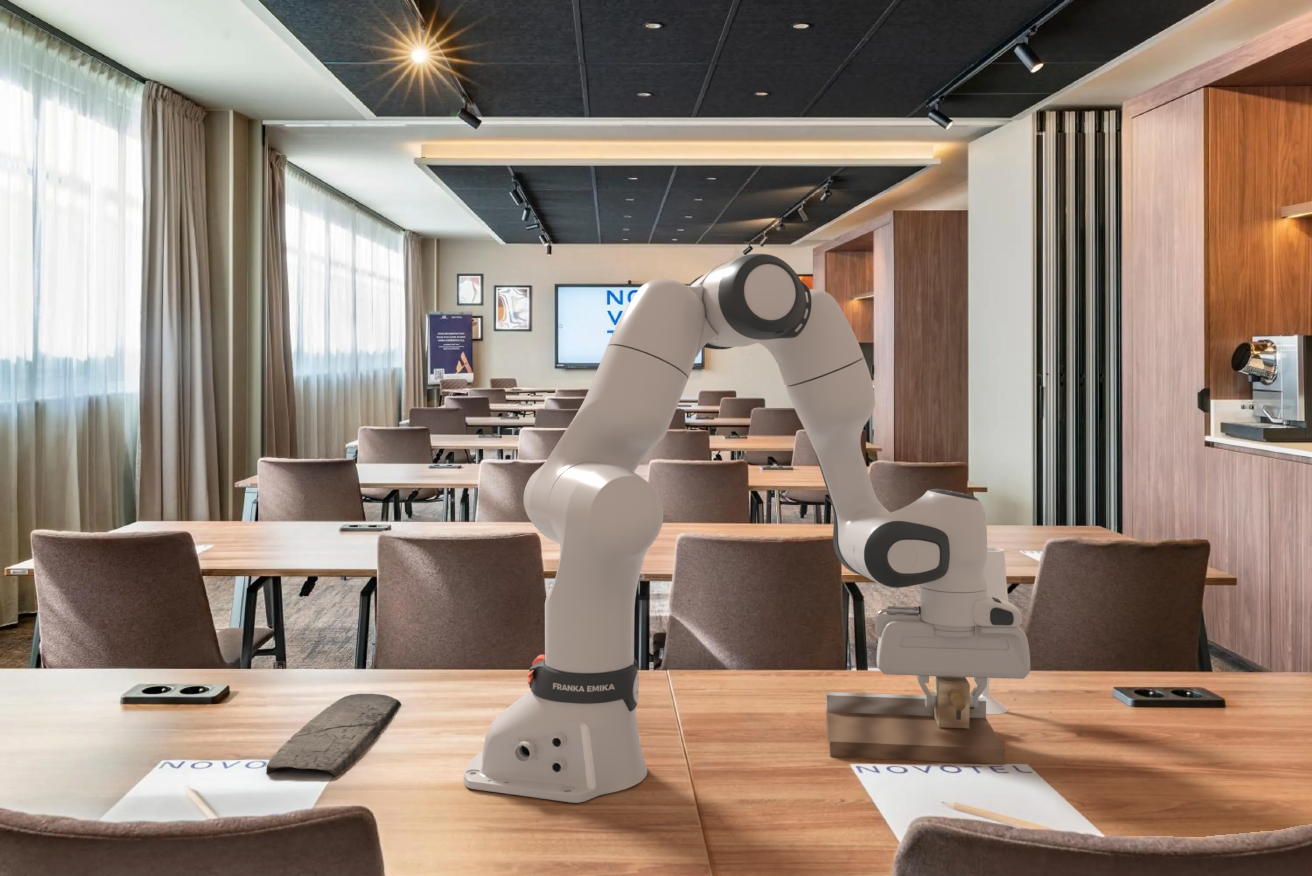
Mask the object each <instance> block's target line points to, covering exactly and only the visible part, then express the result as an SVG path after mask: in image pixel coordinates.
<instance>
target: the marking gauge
mask: <svg viewBox="0 0 1312 876" xmlns="http://www.w3.org/2000/svg"><path fill="white" fill-rule="evenodd" d="M970 690H971V684H970V683H969V681H968V680H967V677H950V676H933V692H936V694H937V708H935V707H933V715H934V718H935V720H936V722H937V725H938V727H946V728H969V707H970V693H971V691H970Z"/></svg>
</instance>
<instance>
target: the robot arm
mask: <svg viewBox="0 0 1312 876" xmlns="http://www.w3.org/2000/svg"><path fill="white" fill-rule="evenodd" d="M809 288H810V287H809V286H807V284H805V283H804V282H803V281H802V280H801V279H800V276H799V275H798V274H797V273H796V271H795V270H794V269H793V268H792V267H791V265H789V264H788V262H785V260H783V259H781V258H779V257H778V256H775V255H772V254H768V253H767V254H766V253H752V254H746V255H743V256H740V257H739V258H738V257H737V258H736V259H734V260H731V261H726V262H724V263H721V264H719V265H716V266H715V267H713V268H712V269H711V270H709V271H707V272H706V273H704V274H702V275H700V276H698V277H697V278H695V279H694V280H693V281H691V282H690V283H689V284H687V285H686V284H684V283H682V282H680V281H677V280H674V279H671V278H670V279H669V278H655V279H651V280H649V281H647V282H646V283H643V284H642V285H641V286H640V287H639V289H638V290H637V291H636V292H635V294H634V295H633V297H632V298H631V300H630V301H629V303H628V304H627V306H626V308H625V310H624V312H623V313H622V315H621V317H620V319H619V320H618V322H617V324H616V326H615V328H614V330H613V332H612V334H611V337H610V339H609V342H608V343H607V346H606V348H605V351H604V354H603V356H602V358H601V360H600V363H599V365H598V367H597V370H596V372H595V375H594V377H593V379H592V382H591V384H590V386H589V388H588V391H587V393H586V395H585V398H584V400H583V402H582V404H581V405H580V407H579V409H578V411H577V412H576V414H575V416H574V417H573V419H572V421H571V422H570V423H569V425H568V426H567V429H565V431H564V433H563V434H562V436H561V437H560V439H559V441H558V442H557V444H556V445H555V446H554V449H553V450H552V451H551V453H550V455H549V456H548V457H547V459H546V460H545V462H544V463H543V464H542V465H541V466H540V467H539V468H538V469H537V470H535V472H533V473H532V474H531V476H530V477H529V479H528V481H527V482H526V486H525V488H524V491H523V506H524V507H523V508H524V511H525V513H526V515H527V517H528V520H530V522H531V523H532V524H533V525H534V527H535V528H536V529H537V530H538V531H539V533H541V534H542V535H543V536H544V537H546V538H547V539H549V540H551V541H553V542H556V543H558V544H559V547H560V548H559V549H560V550H559V551H560V553H559V560H558V564H557V565H558V566H557V568H556V569H557V570H556V574H555V577H554V581H553V585H552V587H551V590H550V591H549V592H548V593H547V595H546V597H545V602H544V654H539V655H538V656H536V658H534V660H533V661H532V666H531V667H530V668H529V671H528V674H527V684H528V685H529V689H530V690H528V692H525V694H523V695H522V696H520V697H519V698H518V699H517V700H516V701H514V702H513V703H511V705H510V706H508V707H507V708H506V709H504V710H502V711H501V712H500V713H499V714H498V715H497V716H496V717H495V718H494V719H493V721H492V722H491V724H490V726H489V727H488V730H487V732H486V735H485V739H484V743H483V749H482V750H480V751H479V752H478V753H476V754H475V755H474V756H473V757H472V758H471V759H470V761H469V762H468V763H467V765H466V767H465V769H464V774H463V775H464V776H463V782H464V785H465V786H466V787H467V788H468V789H472V790H478V791H485V792H493V793H500V794H506V795H515V796H521V797H522V796H523V797H528V798H529V797H530V798H536V799H544V800H550V801H559V802H567V803H573V804H577V803H579V804H580V803H583V802H587V801H588V800H591V799H593V798H596V797H599V796H602V795H606V794H612V793H615V792H620V791H623V790H626V789H629V788H632V787H633V786H635V785H638V784H639V783H641V782H642V781H643V780H644V779H645V778H646V776H647V775H648V769H647V768H648V767H647V765H646V762H645V759H644V755H643V750H642V746H641V740H640V734H639V727H638V719H637V709H636V708H637V706H638V702H639V690H640V689H639V688H640V687H639V685H640V683H639V682H640V681H639V671H638V661H637V659H636V658H635V605H636V597H637V590H638V584H639V580H640V575H641V571H642V569H643V568H642V567H643V564H644V562H645V557H646V553H647V551H648V549H649V548H650V547H651V546H652V545H653V544H654V542H655V541H656V539H657V538H658V536H659V534H660V532H661V529H662V526H663V522H664V508H663V502H662V499H661V496H660V495H659V492H658V491H657V489H655V487H654V485H652V484H651V483H650V482H648V481H647V480H646V479H645V478H643V477H642V476H641V475H639V474H638V473H636V472H635V471H636V470H637V468H638V467H639V466H640V464H641V463H642V462H643V460H644V459H645V457H647V455H648V454H649V452H651V450H652V449H653V448H654V447H656V446H657V445H658V444H660V442H661V441H662V440H663V439H664V438H665V436H666V435H667V433H668V431H669V429H670V425H671V423H672V420H673V418H674V415H676V414H675V413H676V411H677V409H678V408H677V407H678V406H679V404H680V400H681V398H682V395H683V393H684V392H685V391H684V390H685V388H686V385H687V383H688V381H689V378H690V375H691V372H692V369H693V367H694V364H695V361H696V359H697V357H698V356H699V354H700V353H701V351H702V350H703V348H704V349H710V350H728V349H733V348H735V347H738V348H741V347H742V348H743V347H749V346H752V345H755V344H760V345H762V346H763V347H764V348H766V349H767V351H768V352H769V353H770V354H771V356H772V357H773V359H774V360H775V363H776V364H777V366H778V368H779V371H780V375H781V377H782V380H783V383H784V386H785V389H786V392H787V395H788V396H789V399H790V402H791V403H792V406H793V408H794V411H795V413H796V414H797V417H798V419H799V421H800V422H801V424H802V425H801V426H802V427H803V429H804V431H805V433H806V435H807V437H808V439H809V441H810V444H811V446H812V448H813V451H814V454H815V457H816V460H817V463H818V467H819V469H820V472H821V475H822V479H823V481H824V484H825V489H826V491H827V493H828V497H829V499H830V503H831V507H832V511H833V532H832V542H833V543H832V545H833V548H834V549H833V550H834V552H835V555H836V557H837V559H838V561H839V562H840V563H841V565H842V566H844V567H845V569H847V570H848V571H849V572H852V573H854V574H856V575H859V576H861V577H866V578H867V579H869V580H871V581H873V582H875V583H877V584H879V585H880V586H884V587H885V588H890V589H891V588H894V589H898V588H899V589H900V588H908V587H912V586H914V587H915V586H919V605H918V606H895V605H889V606H886V607H885V608H883V609H881V610H879V611H878V612H877V614H876V615H875V619H874V631H875V633H876V635H877V636H878V641H877V648H876V666H877V668H878V670H879V671H880V672H881V673H882V674H884V675H891V676H893V675H894V676H895V675H896V676H916V680H917V682H918V684H919V686H920V688H921V690H922V691H923V693H924V696H925V706H926V707H929V708H930V707H935V708H937V694H936V692H934V691H930V690H929V687H928V686H927V685H926V684H929V683H930V677H934V676H950V677H966V678H973V681H974V683H975V686H974V687H973V689H972V691H970V707H969V709H978V697H980V695H981V694H982V692H983V691H984V689H985V688H986V686H987V678H989V679H990V678H991V679H1014V680H1015V679H1016V680H1017V679H1018V680H1023V679H1025V678H1026V677H1028V675H1029V674H1030V672H1031V654H1030V647H1029V640H1028V636H1027V635H1026V632H1025V631H1024V630H1023V629H1022V628H1021V627H1020V626H1021V625H1022V622H1023V615H1022V613H1021V611H1020V610H1019V608H1018V607H1017V606H1016V605H1014V604H1012V603H1011V602H1009V601H1008V602H1007V601H1004V600H1001V599H998V598H995V597H991V596H988V595H987V585H986V581H985V577H984V565H985V562H986V559H987V547H988V533H987V532H988V531H987V528H988V527H987V519H986V513H985V508H984V505H983V503H982V502H981V501H980V500H979V499H978V498H977V497H975V496H973V495H971V494H967V493H964V492H958V491H954V490H949V489H944V488H932V489H928V490H926V491H925V493H924V494H923V495H922V496H921V497H919V498H918V499H915V501H913V502H912V503H909V504H908V505H906V506H904V507H902V508H899V509H897V510H894V511H892V512H890V511H889V510H888V509H887V508H886V507H885V506H884V505H882V504H883V503H881V501H879V499H878V498H877V494H876V493H875V490H874V485H873V483H872V480H871V477H870V473H869V470H868V467H867V464H866V461H865V458H864V456H863V455H864V454H863V451H862V445H861V441H862V440H861V438H862V433H863V430H864V427H865V426H866V425H867V422H869V420H870V418H871V416H872V415H873V412H874V409H875V405H876V399H875V391H874V385H873V381H872V377H871V376H872V375H871V373H870V370H869V367H868V364H867V361H866V359H865V357H864V353H863V351H862V349H861V346H860V343H859V341H858V338H857V336H856V333H855V332H854V330H853V328H852V325H850V323H849V320H848V318H847V317H846V315H845V314H844V311H843V310H842V309H841V306H840V304H839V303H838V302H837V300H836V299H835V297H834V296H832V295H831V294H830V293H828V292H827V291H825V290H822V289H813V288H812V289H809Z"/></svg>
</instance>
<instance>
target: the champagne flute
mask: <svg viewBox="0 0 1312 876" xmlns="http://www.w3.org/2000/svg"><path fill="white" fill-rule="evenodd" d="M1005 558H1006V557H1005V549H1004V548H1000V547H994V546H987V559H986V562H985V565H984V577H985V581H986V585H987V595H988V596H991V597H995V598H998V599H1001V600H1004V601H1007V602H1009V596H1008V595H1009V594H1008V584H1007V583H1008V582H1007V581H1008V580H1007V571H1006V570H1007V569H1006V559H1005ZM978 698H985V700H986V715H1001V714H1005V713H1007V712H1008V711H1009V708H1008V706H1006V705H1005V704H1003V703H1001V702H1000V701H999V700H997V699H995V698H994V697H993V696H992V695H990V678H987V686H986V688H985V689H984V691H983V692H982V694H981V695H980V697H978Z"/></svg>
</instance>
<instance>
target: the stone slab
mask: <svg viewBox="0 0 1312 876" xmlns="http://www.w3.org/2000/svg"><path fill="white" fill-rule="evenodd" d="M400 705H401V706H402V703H401V701H400V700H399V699H396V698H394V697H393V696H390V695H387V694H379V693H355V694H354V693H353V694H350V695H349V694H348V695H346V696H343V697H342V698H340V699H338V700H336V701H334V703H332V704H330V705H329V706H327V707H326V708H324V709H323V710H322V711H321V712H320V713H319V714H317V715H315V716H314V717H312V719H310V720H309V721H308V722H307V723H306V724H305V725H303V727H301V729H300V730H298V731H297V732H296V733H294V734H293V735H292V736H291V738H290V739H288V740H287V741H286V742H284V744H283V745H282V746H280V748H279V749H278V750H277V752H276V753H275V754H273V755H272V757H270V759H269V760H268V763H267V765H266V774H269V773H272V772H274V771H276V770H279V769H283V768H295V769H301V770H302V769H308V770H309V769H310V770H311V769H312V770H313V769H314V770H321V771H326V772H329V773H330V774H332V775H333V776H334V777H335V778H337V777H338V776H339V775H340V774H342V773H344V772H345V771H346V769H348V768H349V767H350V766H352V765H354V763H355V762H356V761H357V759H358V758H360V757H361V755H362V754H363V753H364V752H366V750H367V749H368V748H369V747H370V746H371V745H372V744H373V742H374V741H375V740H376V739H377V738H378V736H379V735H380V734H381V732H382V731H383V729H384V728H385V727H386V725H388V723H389V722H390V721H391V719H392V718H393V717H394V715H395V714H396V713H397V711H398V710H399V708H400V707H401V706H400ZM399 706H400V707H399ZM398 707H399V708H398ZM397 709H398V710H397ZM396 710H397V711H396ZM395 712H396V713H395ZM392 716H393V717H392Z"/></svg>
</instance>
